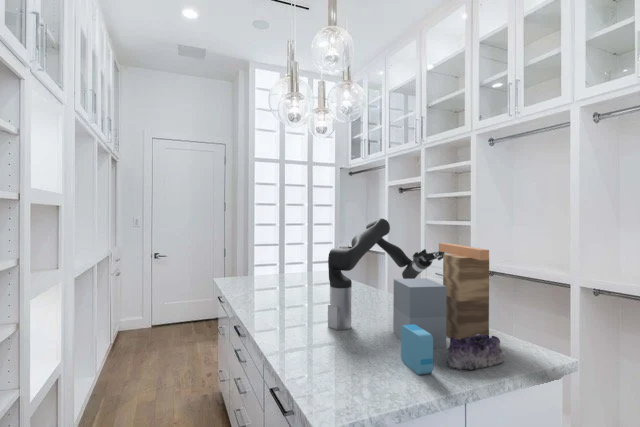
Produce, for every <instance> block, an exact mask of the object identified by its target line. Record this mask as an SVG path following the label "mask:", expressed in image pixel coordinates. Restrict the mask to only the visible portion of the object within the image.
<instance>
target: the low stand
mask: <svg viewBox="0 0 640 427" xmlns="http://www.w3.org/2000/svg"><path fill="white" fill-rule="evenodd" d="M392 301H393V305H392V306H393V308H392V309H393V312H392V314H393V317H392V318H393V322H392V323H393V326H392V327H393V328H392V329H393V330H392V332H393V333H392V334H393V335H394V336H395V337H396V338H397V339H398V340H400V342H401V327H402V325H413V324H415V325H417V326H418V327H420V328H422V329H423V330H425V331H427V332H428V333H430V334H431V335H432V337H433V349H434V348H447V336H446V286H444V285H443V283H439V282H437V281H434V280H431V279H429V278H427V277H425V278H423V277H422V278H415V279H404V278H393V300H392Z"/></svg>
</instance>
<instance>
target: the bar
mask: <svg viewBox="0 0 640 427" xmlns="http://www.w3.org/2000/svg"><path fill="white" fill-rule="evenodd" d="M439 251H440V252H445V253H444V254H455V255H459V256H464V257H469V258H473V259H478V260H489V261H490V250H489V249H485V248H480V247H475V246H474V247H473V246H468V245H461V244H454V243H448V242H439V243H438V252H439Z"/></svg>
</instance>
